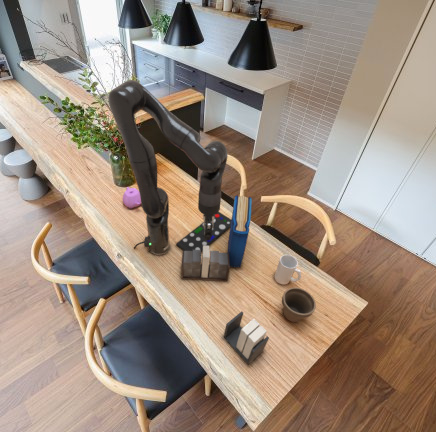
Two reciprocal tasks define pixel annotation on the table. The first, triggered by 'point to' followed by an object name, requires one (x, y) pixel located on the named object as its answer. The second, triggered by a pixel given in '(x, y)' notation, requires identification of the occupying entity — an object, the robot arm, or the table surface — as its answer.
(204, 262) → the white book
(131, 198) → the teapot
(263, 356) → the table surface
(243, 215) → the book
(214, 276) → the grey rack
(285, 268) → the mug
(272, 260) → the table surface
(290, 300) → the flower pot
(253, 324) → the dark book holder
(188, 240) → the remote control
